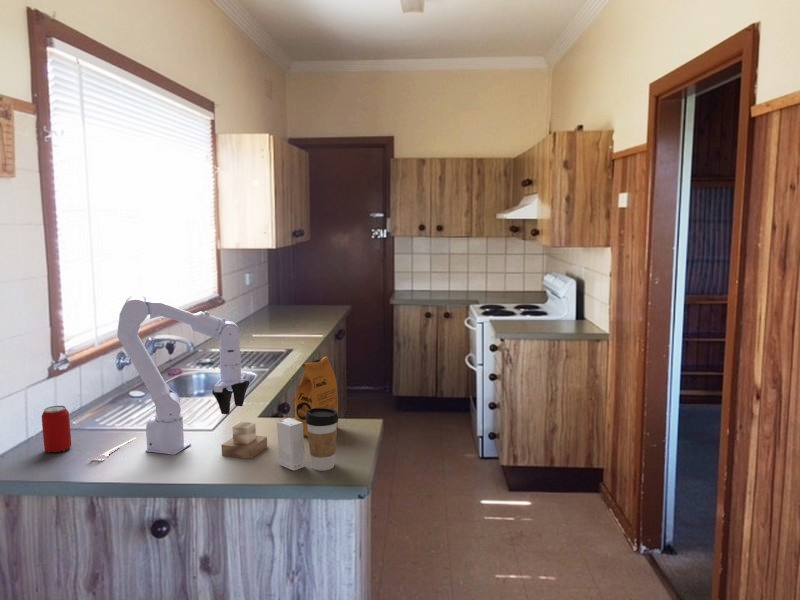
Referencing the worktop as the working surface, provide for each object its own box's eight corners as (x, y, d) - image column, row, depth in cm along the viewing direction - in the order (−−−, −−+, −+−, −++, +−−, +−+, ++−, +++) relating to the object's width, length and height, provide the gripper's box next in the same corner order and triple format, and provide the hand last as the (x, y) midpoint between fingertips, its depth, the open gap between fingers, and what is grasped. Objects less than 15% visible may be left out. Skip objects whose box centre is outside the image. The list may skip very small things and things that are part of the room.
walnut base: (221, 455, 175) (221, 444, 175) (238, 443, 184) (238, 433, 183) (251, 458, 173) (251, 448, 172) (267, 446, 182) (266, 436, 181)
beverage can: (73, 444, 184) (69, 403, 182) (70, 452, 178) (67, 410, 176) (46, 447, 182) (42, 406, 180) (42, 455, 176) (39, 413, 174)
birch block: (233, 442, 176) (232, 427, 176) (241, 437, 181) (240, 421, 180) (247, 444, 175) (247, 428, 175) (255, 438, 180) (255, 423, 179)
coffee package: (290, 433, 192) (288, 362, 189) (318, 422, 202) (317, 354, 199) (314, 440, 186) (313, 366, 183) (342, 428, 196) (341, 358, 193)
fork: (141, 440, 189) (141, 434, 189) (97, 465, 169) (96, 459, 169) (131, 440, 189) (131, 433, 189) (86, 465, 170) (85, 458, 170)
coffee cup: (307, 460, 172) (306, 406, 170) (339, 459, 172) (338, 405, 170) (305, 473, 163) (304, 416, 161) (338, 472, 164) (337, 415, 162)
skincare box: (306, 466, 168) (304, 422, 166) (292, 471, 164) (290, 426, 163) (291, 460, 172) (290, 416, 170) (277, 465, 169) (276, 420, 167)
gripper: (229, 370, 175) (231, 418, 177) (255, 358, 189) (257, 403, 190) (206, 369, 177) (209, 416, 179) (234, 357, 190) (235, 401, 192)
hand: (232, 409), depth 185 cm, fingers open, 7 cm apart
